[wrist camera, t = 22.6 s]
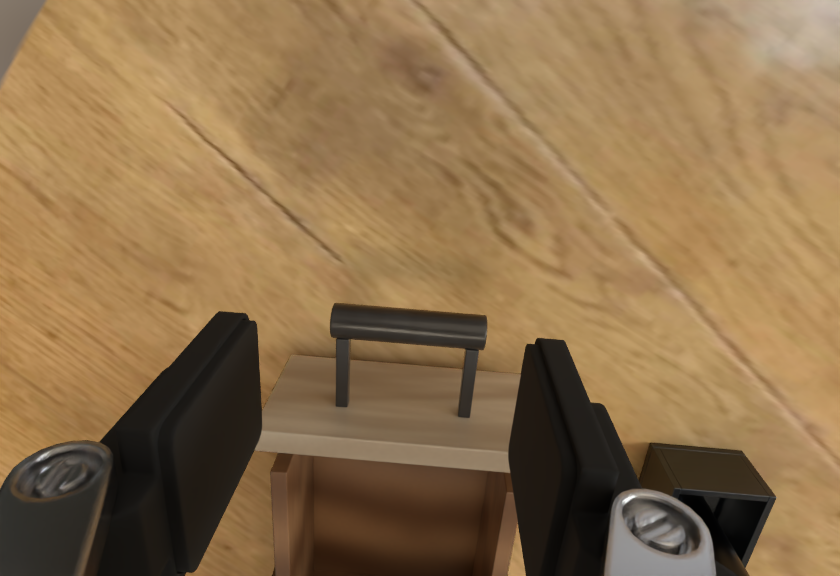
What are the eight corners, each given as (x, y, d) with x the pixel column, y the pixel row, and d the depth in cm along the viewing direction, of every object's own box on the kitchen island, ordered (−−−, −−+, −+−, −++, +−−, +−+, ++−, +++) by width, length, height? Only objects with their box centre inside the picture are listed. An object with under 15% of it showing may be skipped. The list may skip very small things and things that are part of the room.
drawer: (288, 265, 28) (243, 323, 22) (542, 286, 28) (569, 351, 22) (296, 561, 37) (266, 663, 31) (490, 578, 37) (499, 685, 31)
